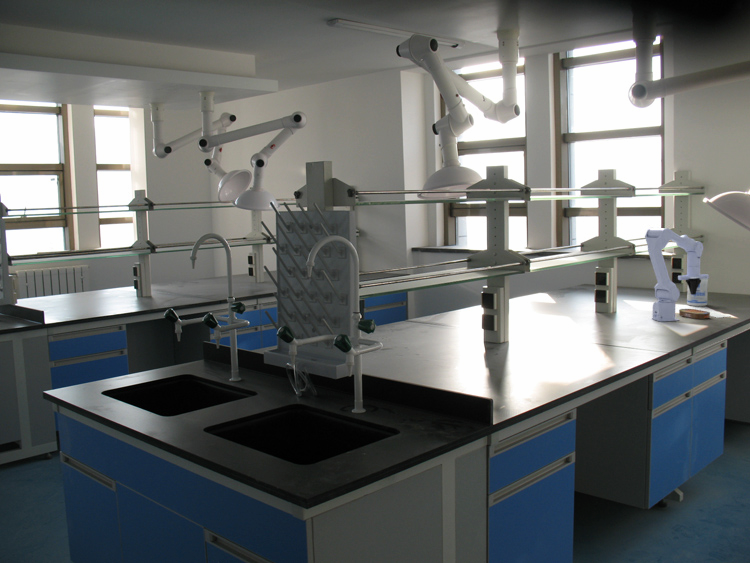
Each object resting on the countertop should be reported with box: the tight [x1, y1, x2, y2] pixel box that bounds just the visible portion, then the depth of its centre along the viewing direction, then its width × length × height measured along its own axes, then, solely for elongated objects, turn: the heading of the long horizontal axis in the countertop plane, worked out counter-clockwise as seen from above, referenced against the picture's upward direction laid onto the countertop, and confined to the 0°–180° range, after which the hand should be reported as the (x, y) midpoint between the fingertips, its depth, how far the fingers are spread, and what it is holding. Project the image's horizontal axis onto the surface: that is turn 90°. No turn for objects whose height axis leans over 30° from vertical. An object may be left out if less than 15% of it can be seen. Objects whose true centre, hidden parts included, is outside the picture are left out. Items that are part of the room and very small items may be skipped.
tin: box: [678, 308, 711, 320], centre depth 321 cm, size 15×3×8 cm
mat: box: [708, 310, 731, 319], centre depth 324 cm, size 7×15×1 cm, turn 7°
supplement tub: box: [686, 279, 709, 307], centre depth 351 cm, size 10×10×15 cm
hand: (693, 294), depth 322 cm, fingers closed
